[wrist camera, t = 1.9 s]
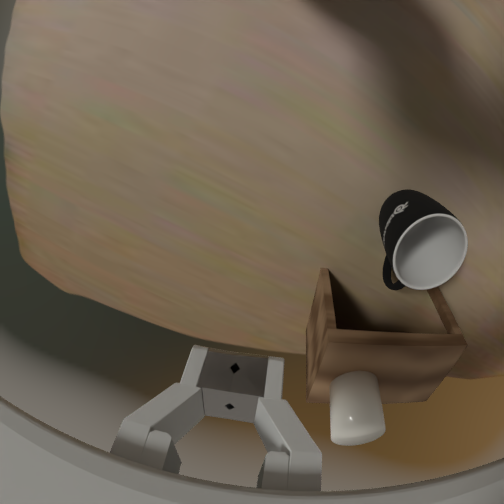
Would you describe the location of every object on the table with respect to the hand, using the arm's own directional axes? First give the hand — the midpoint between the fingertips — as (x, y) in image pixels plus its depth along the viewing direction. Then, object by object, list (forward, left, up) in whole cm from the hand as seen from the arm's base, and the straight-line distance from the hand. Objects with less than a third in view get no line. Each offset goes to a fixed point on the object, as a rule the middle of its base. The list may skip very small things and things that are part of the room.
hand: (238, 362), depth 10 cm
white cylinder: (+21, +12, -14) cm, 29 cm away
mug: (+6, +16, -28) cm, 33 cm away
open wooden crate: (+20, +16, -28) cm, 38 cm away
